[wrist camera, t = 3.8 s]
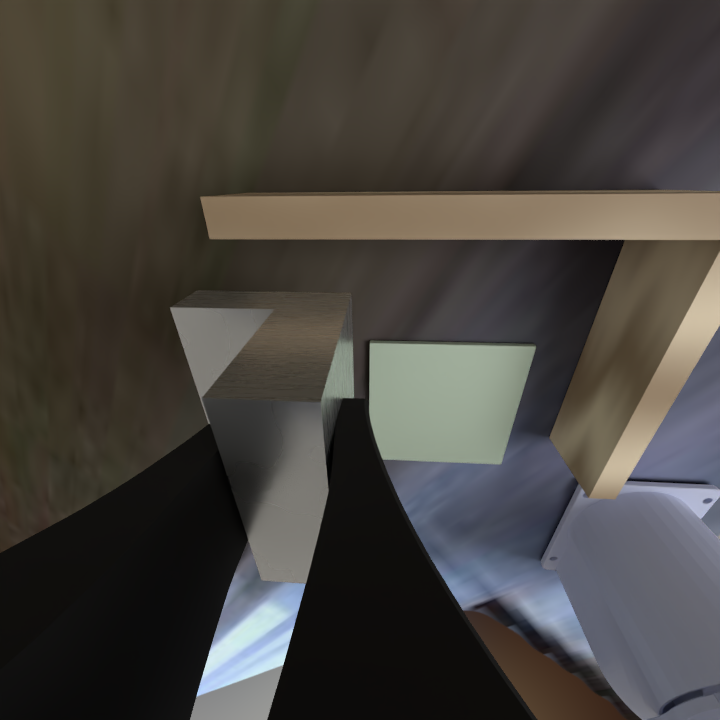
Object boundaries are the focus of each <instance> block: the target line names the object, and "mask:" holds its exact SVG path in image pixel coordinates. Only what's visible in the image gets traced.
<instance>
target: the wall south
mask: <svg viewBox="0 0 720 720" xmlns="http://www.w3.org/2000/svg"><path fill="white" fill-rule="evenodd" d="M719 325H720V240H625V241H624V244H623V247H622V249H621V252H620V255H619V257H618V260H617V262H616V265H615V268H614V270H613V273H612V275H611V278H610V281H609V283H608V286H607V288H606V291H605V294H604V296H603V299H602V301H601V304H600V307H599V309H598V312H597V315H596V317H595V320H594V322H593V325H592V328H591V330H590V333H589V335H588V338H587V341H586V343H585V346H584V348H583V351H582V354H581V356H580V359H579V362H578V364H577V367H576V369H575V372H574V375H573V377H572V380H571V382H570V385H569V388H568V390H567V393H566V395H565V398H564V401H563V403H562V406H561V409H560V411H559V414H558V416H557V419H556V422H555V424H554V427H553V429H552V432H551V435H550V437H549V438H550V440H551V441H552V443H553V444H554V446H555V447H556V449H557V450H558V452H559V453H560V455H561V457H562V458H563V460H564V461H565V463H566V464H567V466H568V467H569V469H570V470H571V472H572V474H573V475H574V477H575V478H576V480H577V481H578V483H579V484H580V486H581V487H582V489H583V490H584V492H585V494H586V495H587V497H588V498H595V499H616V498H617V496H618V494H619V493H620V491H621V489H622V488H623V486H624V484H625V483H626V481H627V479H628V478H629V476H630V474H631V473H632V471H633V469H634V467H635V466H636V464H637V462H638V461H639V459H640V457H641V456H642V454H643V452H644V451H645V449H646V447H647V446H648V444H649V442H650V441H651V439H652V437H653V436H654V434H655V432H656V431H657V429H658V427H659V426H660V424H661V422H662V421H663V419H664V417H665V416H666V414H667V412H668V411H669V409H670V407H671V406H672V404H673V402H674V401H675V399H676V397H677V396H678V394H679V392H680V390H681V389H682V387H683V385H684V384H685V382H686V380H687V379H688V377H689V375H690V374H691V372H692V370H693V369H694V367H695V365H696V364H697V362H698V360H699V359H700V357H701V355H702V354H703V352H704V350H705V349H706V347H707V345H708V344H709V342H710V340H711V339H712V337H713V335H714V334H715V332H716V330H717V329H718V327H719Z"/></svg>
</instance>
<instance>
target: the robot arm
mask: <svg viewBox="0 0 720 720" xmlns="http://www.w3.org/2000/svg"><path fill="white" fill-rule="evenodd" d="M719 497H720V490H719V489H718V488H717V487H716V486H714V485H704V484H681V483H659V482H637V481H626V483H625V484H624V486H623V488H622V489H621V491H620V493H619V494H618V496H617V498H616V499H595V498H588V497H587V495H586V494H585V492H584V490H583V489H582V487H581V486H580V484H578V486H577V488H576V490H575V492H574V494H573V496H572V498H571V500H570V502H569V504H568V506H567V509H566V511H565V513H564V515H563V517H562V519H561V521H560V523H559V525H558V527H557V529H556V531H555V533H554V535H553V537H552V539H551V541H550V543H549V545H548V547H547V549H546V551H545V553H544V555H543V557H542V559H541V565H542V567H543V568H544V569H547V570H556V571H557V573H558V576H559V578H560V580H561V582H562V585H563V587H564V589H565V591H566V594H567V596H568V598H569V600H570V602H571V605H572V607H573V609H574V611H575V614H576V616H577V618H578V620H579V623H580V625H581V627H582V629H583V632H584V634H585V636H586V638H587V641H588V643H589V645H590V647H591V650H592V652H593V654H594V656H595V659H596V661H597V663H598V665H599V667H600V669H601V671H602V673H603V675H604V676H605V678H606V679H607V681H608V682H609V684H610V685H611V687H612V688H613V689H614V691H615V692H616V693H617V695H618V696H619V697H620V698H621V699H622V700H623V701H624V703H625V704H626V705H627V706H628V707H629V708H630V709H631V710H632V711H633V712H634V713H635V714H636V715H637V716H639V717H640V718H641V719H642V720H720V539H719V538H718V537H717V536H716V535H715V534H714V533H713V532H712V531H711V530H710V529H709V528H708V527H707V526H706V524H705V523H704V522H703V521H702V520H701V518H702V517H703V516H704V515H705V513H706V512H707V511H708V510H709V509H710V507H711V506H712V505H713V504H714V503H715V501H716V500H717V499H718V498H719ZM247 541H248V537H247V534H246V531H245V528H244V525H243V522H242V519H241V516H240V513H239V510H238V507H237V504H236V501H235V498H234V495H233V492H232V489H231V486H230V483H229V480H228V477H227V474H226V471H225V467H224V464H223V461H222V458H221V455H220V452H219V449H218V446H217V443H216V440H215V437H214V434H213V431H212V428H211V425H210V424H209V425H207V426H206V427H205V428H203V429H202V430H201V431H199V432H198V433H197V434H195V435H194V436H192V437H191V438H190V439H188V440H187V441H186V442H184V443H183V444H182V445H180V446H179V447H177V448H176V449H174V450H173V451H172V452H170V453H169V454H167V455H166V456H164V457H163V458H161V459H160V460H158V461H157V462H156V463H154V464H153V465H151V466H150V467H148V468H147V469H145V470H144V471H143V472H141V473H140V474H138V475H136V476H135V477H133V478H132V479H130V480H129V481H127V482H126V483H124V484H122V485H121V486H119V487H118V488H116V489H114V490H113V491H111V492H109V493H108V494H106V495H104V496H103V497H101V498H99V499H98V500H96V501H94V502H93V503H91V504H89V505H88V506H86V507H84V508H83V509H81V510H79V511H77V512H76V513H74V514H72V515H70V516H69V517H67V518H65V519H63V520H61V521H59V522H57V523H56V524H54V525H52V526H50V527H48V528H46V529H44V530H43V531H41V532H39V533H37V534H35V535H33V536H31V537H30V538H28V539H26V540H24V541H22V542H20V543H18V544H17V545H15V546H13V547H11V548H9V549H7V550H5V551H4V552H2V553H0V720H190V717H191V714H192V710H193V706H194V703H195V699H196V695H197V692H198V688H199V685H200V682H201V678H202V675H203V671H204V668H205V665H206V661H207V658H208V654H209V651H210V648H211V644H212V641H213V637H214V634H215V631H216V628H217V625H218V621H219V618H220V615H221V612H222V609H223V605H224V602H225V599H226V596H227V593H228V590H229V587H230V584H231V581H232V579H233V576H234V573H235V570H236V568H237V565H238V563H239V560H240V558H241V556H242V553H243V551H244V548H245V546H246V543H247ZM267 720H537V719H536V717H535V716H534V715H533V713H532V712H531V710H530V709H529V707H528V706H527V705H526V703H525V702H524V701H523V699H522V698H521V696H520V695H519V693H518V692H517V690H516V689H515V688H514V686H513V685H512V683H511V682H510V680H509V679H508V678H507V676H506V675H505V673H504V672H503V670H502V669H501V668H500V666H499V665H498V663H497V662H496V660H495V659H494V657H493V656H492V654H491V653H490V651H489V650H488V648H487V647H486V645H485V644H484V642H483V641H482V639H481V638H480V636H479V635H478V633H477V632H476V630H475V629H474V627H473V626H472V624H471V623H470V622H469V620H468V618H467V617H466V615H465V613H464V612H463V610H462V609H461V607H460V605H459V604H458V602H457V600H456V599H455V597H454V596H453V594H452V592H451V591H450V589H449V588H448V586H447V584H446V583H445V581H444V579H443V578H442V576H441V575H440V573H439V571H438V570H437V568H436V566H435V565H434V563H433V562H432V560H431V558H430V556H429V555H428V553H427V551H426V549H425V547H424V546H423V544H422V542H421V540H420V538H419V537H418V535H417V533H416V531H415V529H414V527H413V525H412V524H411V522H410V520H409V518H408V516H407V514H406V512H405V510H404V508H403V506H402V504H401V502H400V500H399V497H398V495H397V493H396V491H395V489H394V486H393V484H392V482H391V480H390V477H389V475H388V473H387V470H386V468H385V465H384V462H383V460H382V457H381V454H380V451H379V448H378V446H377V443H376V440H375V436H374V433H373V429H372V425H371V421H370V416H369V402H368V401H367V400H366V399H359V398H343V400H342V403H341V406H340V409H339V412H338V416H337V419H336V429H335V439H334V450H333V460H332V471H331V479H330V485H329V492H328V496H327V501H326V505H325V509H324V513H323V518H322V522H321V526H320V530H319V535H318V538H317V542H316V546H315V550H314V554H313V558H312V562H311V566H310V570H309V574H308V578H307V582H306V586H305V589H304V593H303V596H302V600H301V604H300V607H299V611H298V615H297V618H296V622H295V626H294V629H293V633H292V636H291V640H290V644H289V647H288V651H287V655H286V658H285V662H284V665H283V669H282V672H281V676H280V679H279V682H278V686H277V689H276V692H275V696H274V699H273V702H272V706H271V709H270V713H269V717H268V719H267Z"/></svg>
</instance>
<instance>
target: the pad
mask: <svg viewBox="0 0 720 720" xmlns="http://www.w3.org/2000/svg"><path fill="white" fill-rule="evenodd" d="M535 349H536V346H535V345H534V344H520V343H472V342H424V341H375V340H370V381H369V416H370V421H371V425H372V429H373V433H374V436H375V440H376V443H377V446H378V448H379V451H380V454H381V457H382V459H385V460H408V461H432V462H455V463H478V464H501V463H502V460H503V456H504V453H505V450H506V446H507V443H508V440H509V436H510V433H511V430H512V426H513V423H514V420H515V416H516V413H517V410H518V406H519V403H520V400H521V396H522V393H523V390H524V386H525V383H526V380H527V376H528V373H529V369H530V366H531V363H532V359H533V356H534V353H535Z"/></svg>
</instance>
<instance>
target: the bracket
mask: <svg viewBox="0 0 720 720" xmlns="http://www.w3.org/2000/svg"><path fill="white" fill-rule="evenodd" d="M170 309H171V312H172V315H173V318H174V321H175V324H176V327H177V330H178V333H179V336H180V339H181V342H182V345H183V348H184V351H185V354H186V357H187V360H188V363H189V366H190V369H191V372H192V375H193V378H194V381H195V384H196V387H197V390H198V393H199V396H200V399H201V402H202V405H203V408H204V411H205V414H206V417H207V420H208V423H209V424H210V425H211V428H212V431H213V434H214V437H215V440H216V443H217V446H218V449H219V452H220V455H221V458H222V461H223V464H224V467H225V471H226V474H227V477H228V480H229V483H230V486H231V489H232V492H233V495H234V498H235V501H236V504H237V507H238V510H239V513H240V516H241V519H242V522H243V525H244V528H245V531H246V534H247V537H248V540H249V543H250V546H251V549H252V552H253V555H254V559H255V562H256V565H257V568H258V571H259V574H260V577H261V580H263V581H277V582H290V583H304V584H306V582H307V578H308V574H309V570H310V566H311V562H312V558H313V554H314V550H315V546H316V542H317V538H318V535H319V530H320V526H321V522H322V518H323V513H324V509H325V505H326V501H327V496H328V492H329V485H330V479H331V471H332V460H333V450H334V439H335V429H336V419H337V416H338V412H339V409H340V406H341V403H342V400H343V398H354V377H353V332H352V293H335V292H267V291H198V290H197V291H196V292H194V293H192V294H191V295H189V296H188V297H186V298H184V299H183V300H181V301H179V302H178V303H176V304H175V305H173V306H171V307H170Z"/></svg>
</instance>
